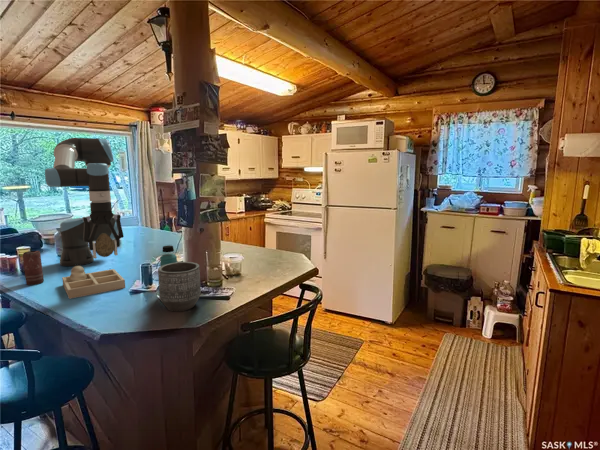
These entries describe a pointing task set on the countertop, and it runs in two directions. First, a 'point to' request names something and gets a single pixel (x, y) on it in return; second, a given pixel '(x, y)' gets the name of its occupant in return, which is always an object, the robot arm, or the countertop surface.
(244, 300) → the countertop surface
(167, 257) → the beverage bottle
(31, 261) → the can
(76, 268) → the beige stacked dome figurine
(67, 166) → the robot arm
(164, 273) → the planter
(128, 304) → the countertop surface
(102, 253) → the decorative egg
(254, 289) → the countertop surface
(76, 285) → the wooden compartment tray
